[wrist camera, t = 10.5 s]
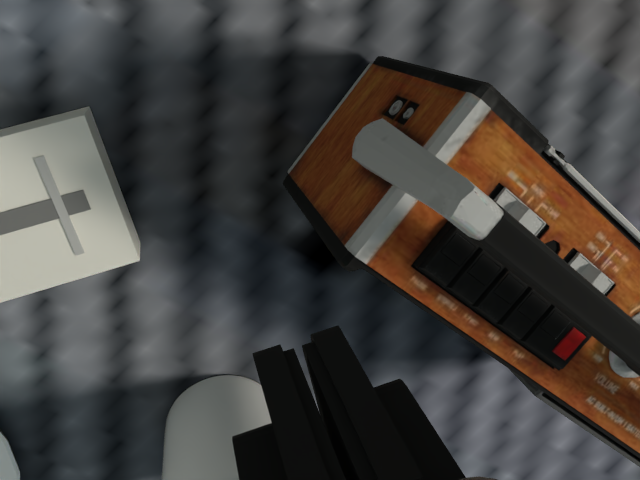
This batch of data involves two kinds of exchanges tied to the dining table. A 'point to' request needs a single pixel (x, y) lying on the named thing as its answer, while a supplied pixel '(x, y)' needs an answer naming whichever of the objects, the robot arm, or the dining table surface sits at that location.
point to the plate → (7, 461)
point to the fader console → (59, 205)
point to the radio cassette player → (483, 235)
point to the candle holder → (211, 427)
